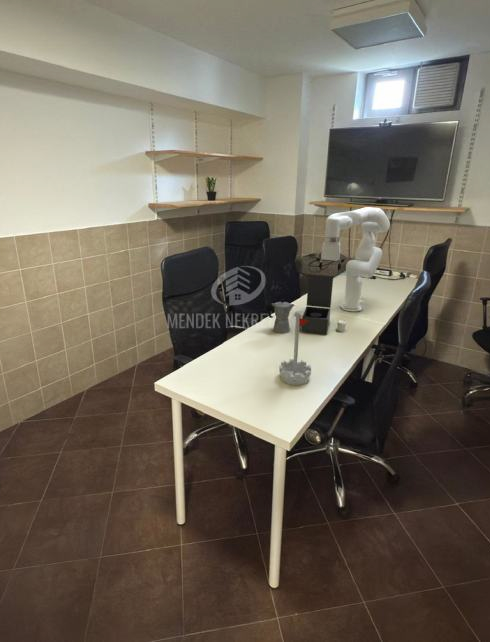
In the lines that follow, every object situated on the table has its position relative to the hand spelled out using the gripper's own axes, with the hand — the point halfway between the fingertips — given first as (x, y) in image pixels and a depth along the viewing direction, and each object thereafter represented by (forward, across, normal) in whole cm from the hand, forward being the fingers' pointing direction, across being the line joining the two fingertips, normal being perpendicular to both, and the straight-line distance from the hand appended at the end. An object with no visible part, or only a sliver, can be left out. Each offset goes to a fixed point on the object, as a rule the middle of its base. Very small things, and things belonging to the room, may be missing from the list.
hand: (329, 269), depth 202 cm
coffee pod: (+30, -10, +14) cm, 35 cm away
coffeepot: (+31, +23, +24) cm, 45 cm away
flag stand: (+31, +6, +71) cm, 78 cm away
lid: (+12, +4, +4) cm, 13 cm away
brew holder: (+30, +4, +17) cm, 35 cm away
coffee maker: (+30, +4, +14) cm, 34 cm away
